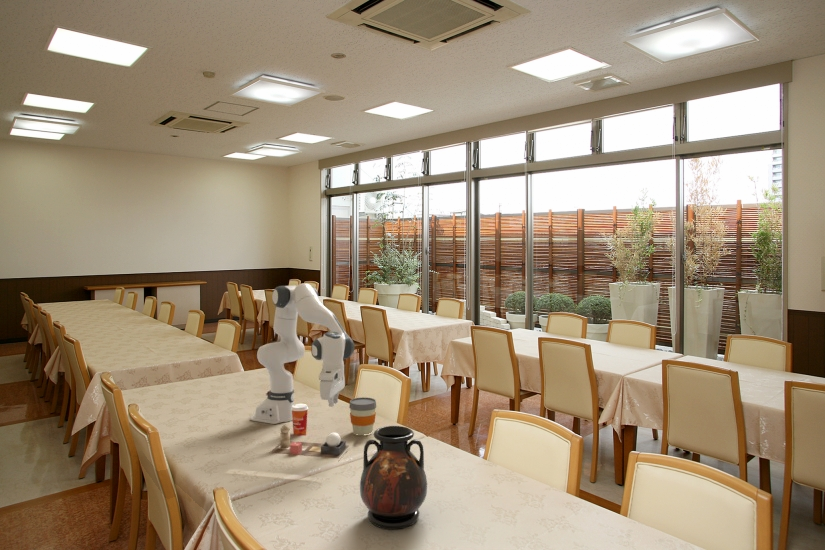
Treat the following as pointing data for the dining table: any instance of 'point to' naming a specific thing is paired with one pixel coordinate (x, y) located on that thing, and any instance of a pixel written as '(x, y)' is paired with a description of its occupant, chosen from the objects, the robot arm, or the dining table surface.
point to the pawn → (285, 437)
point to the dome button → (333, 439)
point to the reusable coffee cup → (362, 415)
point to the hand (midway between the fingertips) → (333, 404)
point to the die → (295, 448)
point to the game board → (315, 449)
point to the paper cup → (299, 419)
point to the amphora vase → (393, 479)
